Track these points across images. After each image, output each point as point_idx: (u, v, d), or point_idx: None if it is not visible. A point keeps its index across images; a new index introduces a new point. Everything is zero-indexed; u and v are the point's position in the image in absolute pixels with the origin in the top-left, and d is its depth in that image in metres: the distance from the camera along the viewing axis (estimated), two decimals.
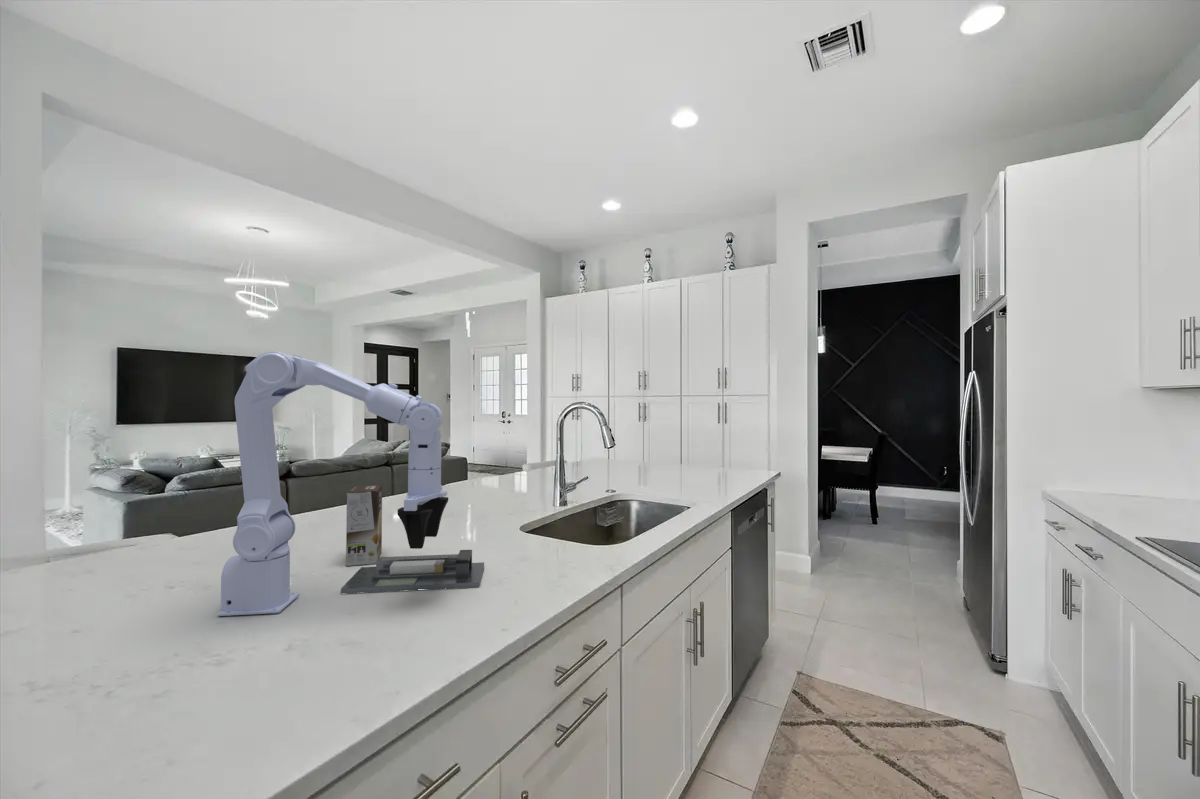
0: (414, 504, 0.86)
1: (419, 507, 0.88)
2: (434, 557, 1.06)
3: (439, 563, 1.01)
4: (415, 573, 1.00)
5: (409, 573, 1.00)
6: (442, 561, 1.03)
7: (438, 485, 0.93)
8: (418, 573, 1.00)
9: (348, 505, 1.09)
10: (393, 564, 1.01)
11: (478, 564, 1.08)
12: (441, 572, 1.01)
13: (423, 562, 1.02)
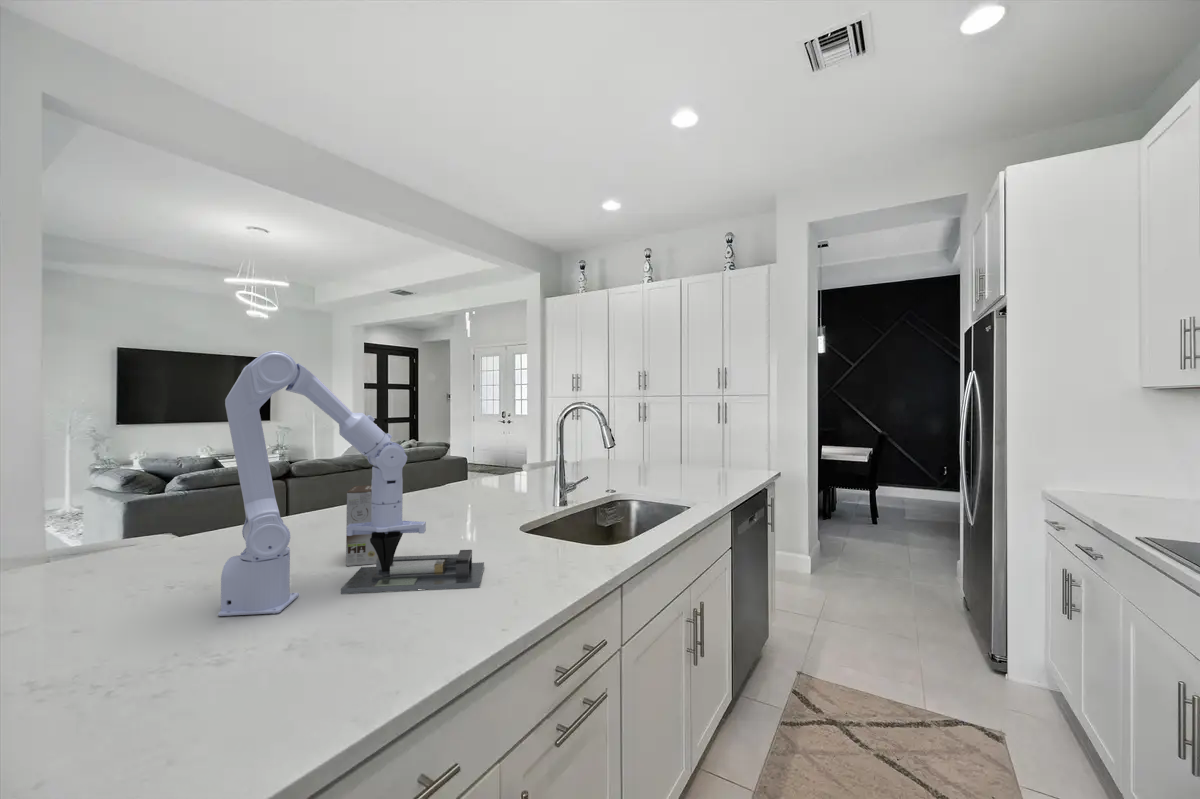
0: None
1: (378, 534, 1.00)
2: (434, 557, 1.06)
3: (439, 563, 1.01)
4: (415, 573, 1.00)
5: (409, 573, 1.00)
6: (442, 561, 1.03)
7: (380, 520, 0.98)
8: (418, 573, 1.00)
9: (348, 505, 1.09)
10: (393, 564, 1.01)
11: (478, 564, 1.08)
12: (441, 572, 1.01)
13: (423, 562, 1.02)
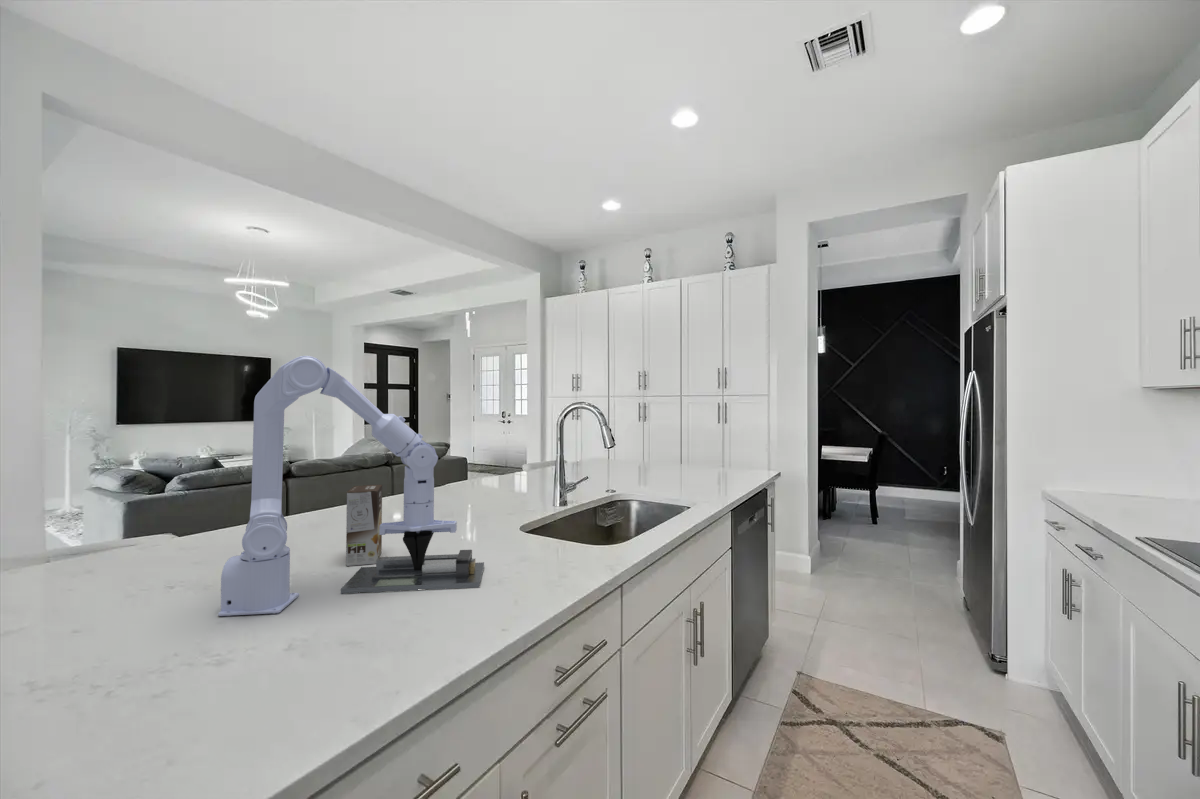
0: (379, 529, 1.00)
1: (410, 533, 1.01)
2: (434, 557, 1.06)
3: (470, 562, 1.02)
4: (447, 572, 1.01)
5: (441, 572, 1.01)
6: (473, 560, 1.04)
7: (413, 520, 0.99)
8: (450, 572, 1.01)
9: (348, 505, 1.09)
10: (425, 563, 1.02)
11: (478, 564, 1.08)
12: (472, 571, 1.02)
13: (454, 561, 1.03)
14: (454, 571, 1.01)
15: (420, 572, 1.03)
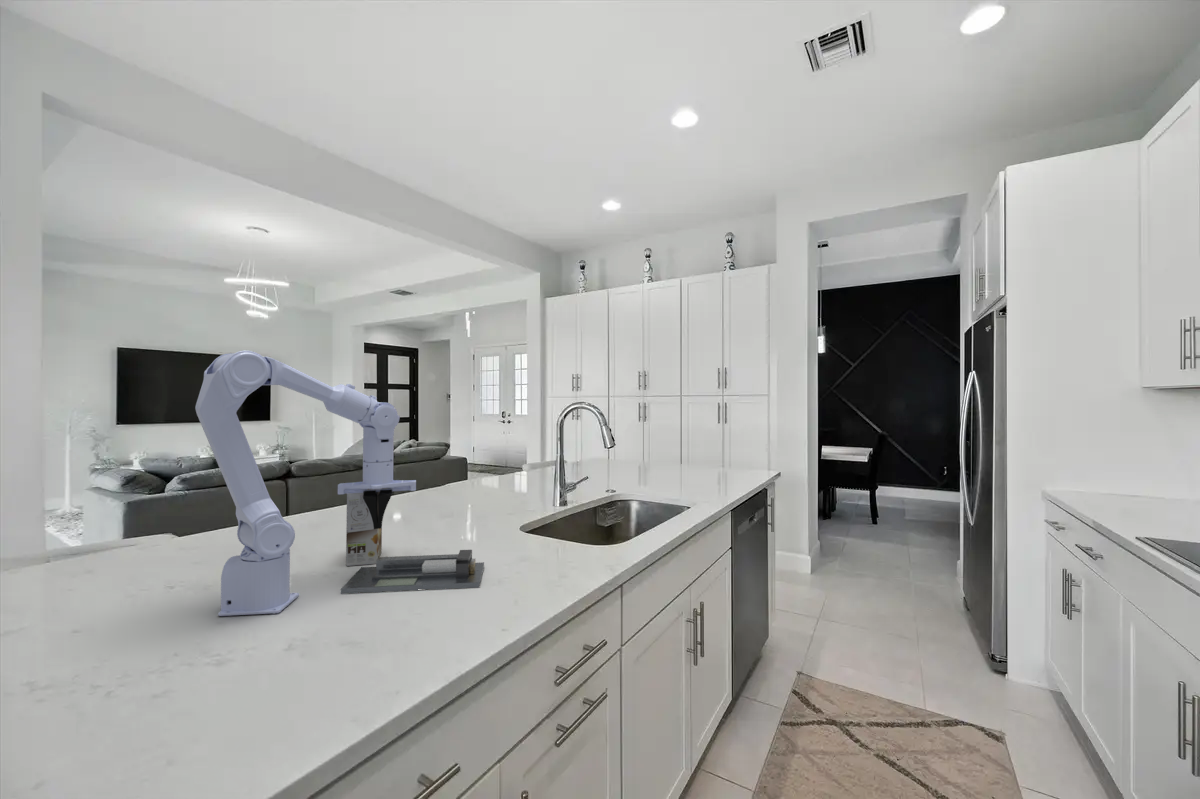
0: None
1: (370, 492, 1.02)
2: (434, 557, 1.06)
3: (470, 562, 1.02)
4: (447, 572, 1.01)
5: (441, 572, 1.01)
6: (473, 560, 1.04)
7: (374, 478, 1.01)
8: (450, 572, 1.01)
9: (348, 505, 1.09)
10: (425, 563, 1.02)
11: (478, 564, 1.08)
12: (472, 571, 1.02)
13: (454, 561, 1.03)
14: (454, 571, 1.01)
15: (420, 572, 1.03)
